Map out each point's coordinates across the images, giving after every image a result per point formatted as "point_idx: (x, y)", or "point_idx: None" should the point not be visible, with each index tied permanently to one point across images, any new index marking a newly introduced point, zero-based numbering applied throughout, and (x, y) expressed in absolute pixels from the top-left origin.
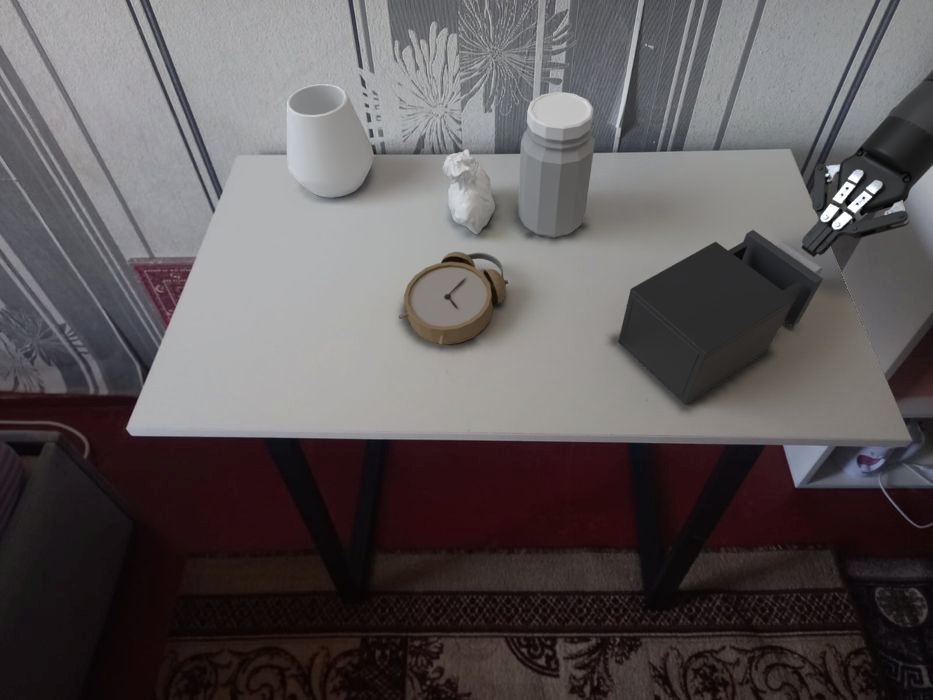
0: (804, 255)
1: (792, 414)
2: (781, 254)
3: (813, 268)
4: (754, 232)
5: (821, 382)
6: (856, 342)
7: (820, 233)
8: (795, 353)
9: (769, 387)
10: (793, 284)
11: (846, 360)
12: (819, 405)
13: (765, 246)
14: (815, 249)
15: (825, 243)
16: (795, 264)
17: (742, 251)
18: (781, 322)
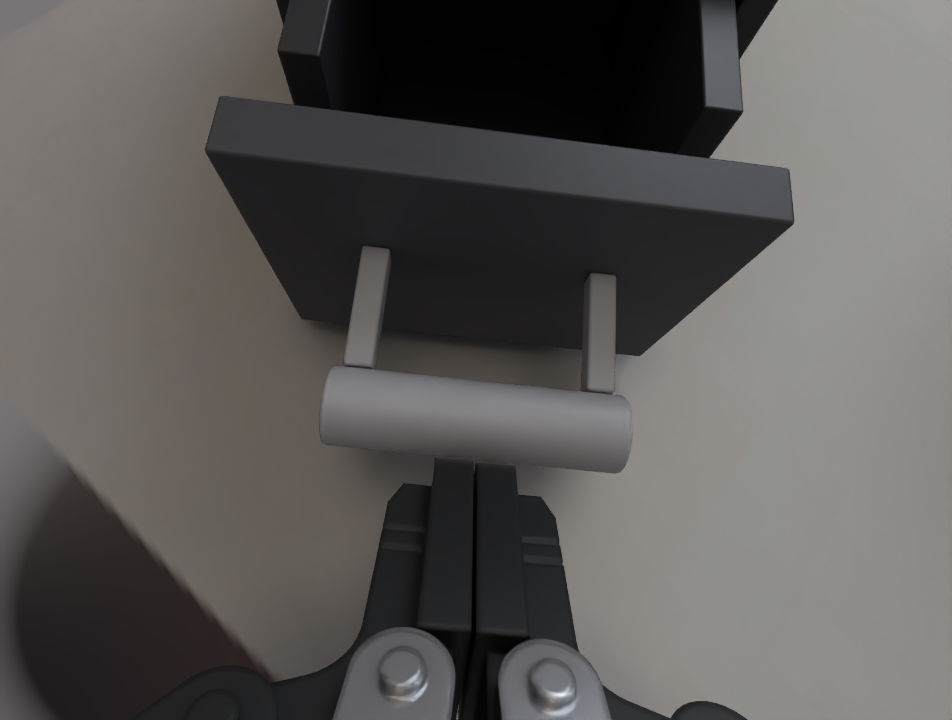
0: (457, 430)
1: (129, 31)
2: (522, 154)
3: (355, 376)
4: (769, 203)
5: (109, 182)
6: (80, 438)
7: (477, 558)
8: (243, 226)
9: (235, 64)
10: (322, 21)
11: (76, 327)
12: (74, 105)
13: (634, 151)
14: (431, 491)
15: (398, 541)
16: (406, 139)
17: (688, 100)
18: (281, 16)
